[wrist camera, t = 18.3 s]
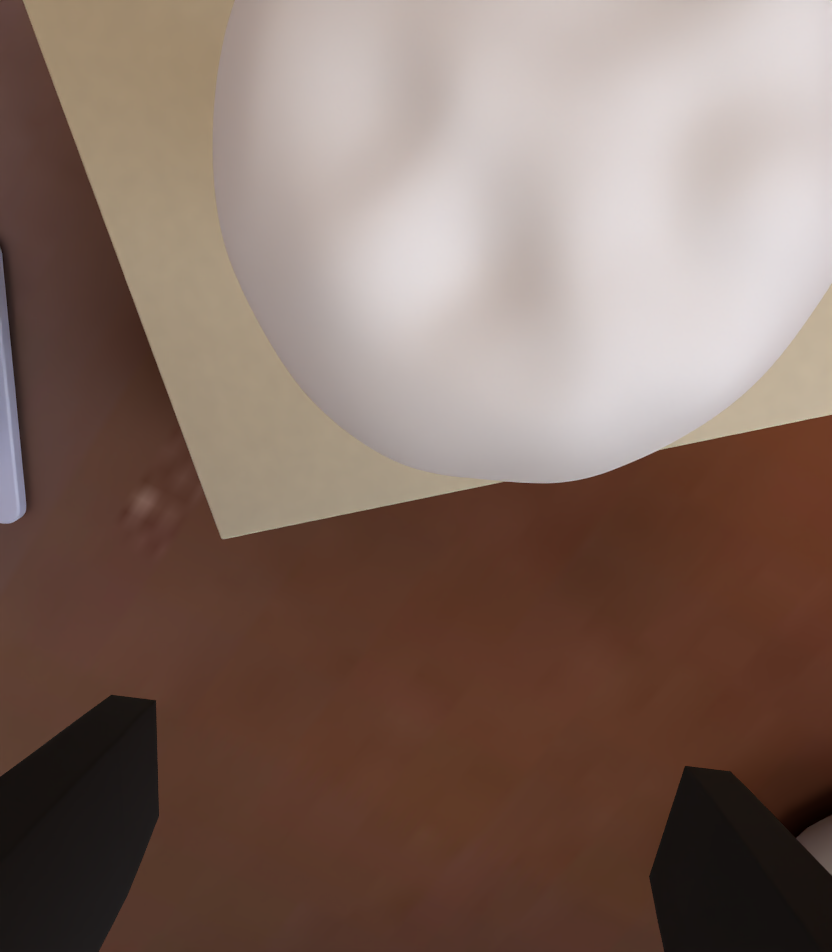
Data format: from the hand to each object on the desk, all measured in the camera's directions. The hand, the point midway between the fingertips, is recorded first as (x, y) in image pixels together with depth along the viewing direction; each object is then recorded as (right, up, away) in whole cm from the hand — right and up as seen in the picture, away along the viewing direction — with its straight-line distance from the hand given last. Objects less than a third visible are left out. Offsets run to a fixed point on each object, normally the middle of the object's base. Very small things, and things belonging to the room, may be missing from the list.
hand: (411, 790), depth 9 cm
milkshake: (+1, +10, +3) cm, 10 cm away
